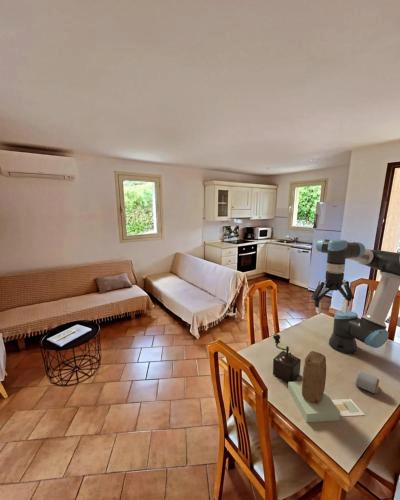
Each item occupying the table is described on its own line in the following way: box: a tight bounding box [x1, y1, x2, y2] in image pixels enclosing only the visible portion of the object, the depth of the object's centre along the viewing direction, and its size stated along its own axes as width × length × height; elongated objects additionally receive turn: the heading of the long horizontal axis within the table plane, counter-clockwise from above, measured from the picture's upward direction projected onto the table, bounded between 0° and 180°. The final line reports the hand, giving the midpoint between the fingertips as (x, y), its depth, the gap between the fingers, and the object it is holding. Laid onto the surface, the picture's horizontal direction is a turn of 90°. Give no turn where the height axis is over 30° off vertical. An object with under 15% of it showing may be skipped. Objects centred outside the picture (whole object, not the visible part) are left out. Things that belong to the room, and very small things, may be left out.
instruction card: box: [331, 398, 365, 418], centre depth 96 cm, size 10×8×1 cm
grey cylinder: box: [355, 369, 380, 394], centre depth 107 cm, size 11×8×8 cm
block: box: [301, 350, 327, 404], centre depth 96 cm, size 11×8×20 cm
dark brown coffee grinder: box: [272, 333, 302, 384], centre depth 116 cm, size 16×11×18 cm
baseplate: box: [287, 380, 341, 423], centre depth 98 cm, size 14×17×4 cm
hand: (331, 312), depth 110 cm, fingers open, 13 cm apart
